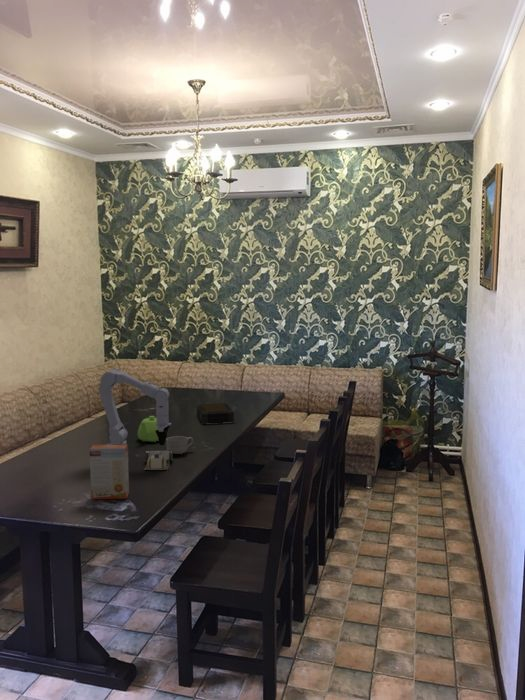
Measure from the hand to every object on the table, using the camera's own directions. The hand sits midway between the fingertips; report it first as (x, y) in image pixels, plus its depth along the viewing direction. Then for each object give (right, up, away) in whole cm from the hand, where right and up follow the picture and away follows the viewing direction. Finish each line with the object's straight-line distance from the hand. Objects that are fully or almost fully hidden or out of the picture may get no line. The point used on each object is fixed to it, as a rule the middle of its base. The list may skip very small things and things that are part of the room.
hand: (162, 442), depth 275 cm
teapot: (-13, -5, +39) cm, 42 cm away
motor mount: (-2, -10, -2) cm, 11 cm away
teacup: (+6, -8, +17) cm, 19 cm away
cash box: (+18, 0, +86) cm, 88 cm away
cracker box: (-14, -15, -42) cm, 46 cm away
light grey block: (-2, -10, -6) cm, 12 cm away
